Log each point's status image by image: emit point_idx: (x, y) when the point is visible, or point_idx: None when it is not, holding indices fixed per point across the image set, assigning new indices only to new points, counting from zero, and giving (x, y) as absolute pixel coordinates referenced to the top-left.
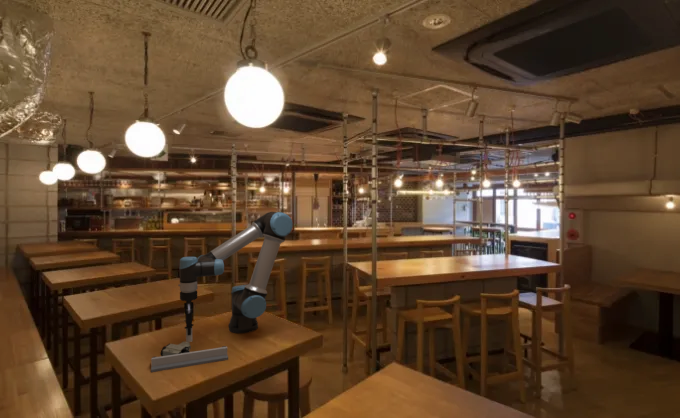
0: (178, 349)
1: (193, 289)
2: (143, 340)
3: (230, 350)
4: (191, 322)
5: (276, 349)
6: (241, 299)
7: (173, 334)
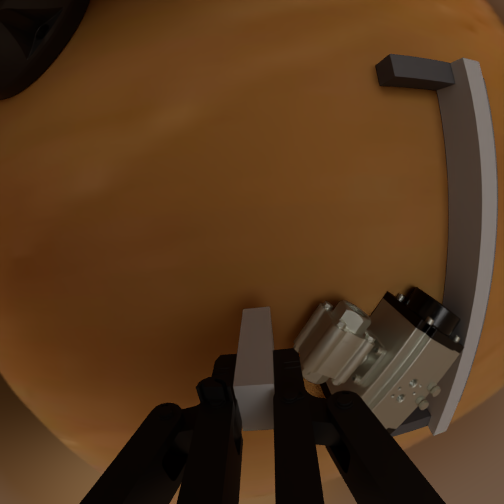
0: (441, 366)
1: None
2: None
3: (364, 38)
4: (395, 444)
5: None
6: None
7: (51, 375)
